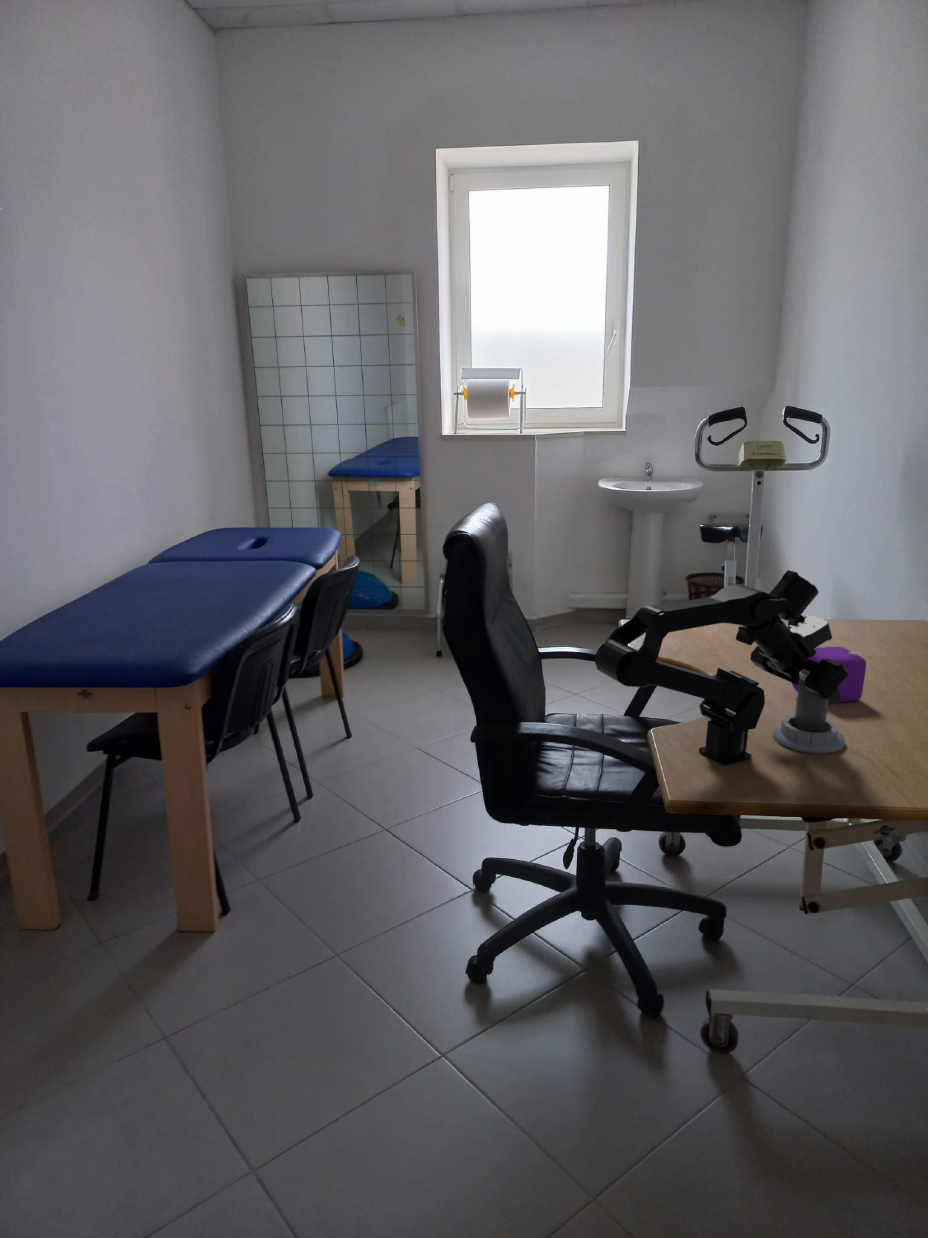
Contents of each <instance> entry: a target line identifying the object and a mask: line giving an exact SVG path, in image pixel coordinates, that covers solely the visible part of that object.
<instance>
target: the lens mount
mask: <svg viewBox="0 0 928 1238" xmlns="http://www.w3.org/2000/svg"><path fill="white" fill-rule="evenodd" d="M794 720H795V714H791V715H788V716H784V718H783V719H782V720H781V723H779V724H777V725H775V726H774V727H773V731H772V738H773V739H774V741H775V742H776V743H778V744H780V745H781V746H783V747H784V748H787V749H791V750H793V751H796V752H800V753H805V754H812V755H828V754H829V755H830V754H835V753H838V752H840V751H842V750H843V749H844V748H845V743H846V739H845V737H844V736H843V734H842V733H841V732H839V726H838V725H837V724H836V723H835V722H834V721H831V720H829V719H827V718H826V725H825V732H823V733H816V732H807V731H802V730H799V729H797V728H794Z"/></svg>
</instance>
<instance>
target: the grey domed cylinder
mask: <svg viewBox="0 0 928 1238" xmlns="http://www.w3.org/2000/svg"><path fill="white" fill-rule="evenodd" d="M808 675H809V674H807V673H805V672H803V671H800V673H799V677H800V678H799V687H798V691H797V696H796V703H795V712H794V713H795V714H794V715H795V720H794V728H797V729H799V730H802V731H807V732H816V733H823V732H825V725H826V719H827V716H828V708H829V703H828V702H829V701H828V700H825V699H823V698H820V697H818V696H816V695H814V694H811V693H810V691H809V690H808V689H807V688H806V687H805V686H804V683H805V678H806V677H807V676H808Z"/></svg>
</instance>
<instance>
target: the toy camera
mask: <svg viewBox="0 0 928 1238" xmlns="http://www.w3.org/2000/svg"><path fill="white" fill-rule="evenodd" d="M814 649H815V651H816V652H817V653H816V654H815V655H814V656H813V657H810V658H809V659H810V660H813V661H815V662H817V663H819V662H820V661H821V660H822V659H827V658H829V659H831V660H833V661H836V662H838V663H840V664H843V665H844V667H845V668H846V669H847V670H848V676H847V677H846V678H845V679H844V680H843V681H842V682H841V684H840V685H839V686H838V687H839V692H840V696H841V701H840V702H839V703H845V702H846V703H847V702H855V701H856V702H857V701H859V700H861V698H862V696H863V692H864V691H863V690H864V684H865V676H866V670H867V669H866V668H867V661H866V659H865V658H864V657H862V656H861V655H859V653H858V652H856V651H851V650H850V649H847V648H845V647H843V646H821V647H819V646H818V647H816V648H814ZM799 673H800V672H799ZM790 683H791V685H792V687H793V689H794V690H795V691H796V692H798V687H799V685H796V684H794V683H792V682H790ZM829 703H832V702H830V701H829V702H828V704H829Z"/></svg>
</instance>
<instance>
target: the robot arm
mask: <svg viewBox="0 0 928 1238" xmlns="http://www.w3.org/2000/svg"><path fill="white" fill-rule="evenodd" d="M717 591H718V592H716V593H715V594H714V595H710V596H707V597H701V598H695V599H688V600H683V601H678V602H671V603H664V604H659V605H645V606H644V605H643V606H642V607H640V609H638V611H637V612H636V613H635V614H634V615H633V616H632V618H631V619H629V620H627V621H626V622H624V623H623V624H622V625H620V626H619V627H617V628H616V629H615V630H614V631H613V632H611V634H610V635H609V637H608V638H607V639H606V640H605V642H604V643H602V644H601V645H600V646H599V647H598V649H597V651H596V653H595V657H594V658H595V659H594V662H595V666H596V670H597V671H599V673H602V674H603V675H605V676H607V677H609V678H611V679H612V680H614V681H616V682H617V683H618V684H619V683H620V684H621V685H623V686H625V687H629V688H631V687H632V688H633V687H634V688H646V687H649V686H656V687H661V688H664V689H667V690H671V691H675V692H679V693H682V694H684V695H685V694H686V695H689V696H693V697H697V698H699V699H703V700H702V702H701V703H700V704H699V710H700V715H702V716H704V717H705V718H708V719H710V720H708V721H707V726H706V727H707V728H706V736H705V737H706V739H705V745H704V746H702V747H698V752H700V753H701V754H704V755H705V756H707V757H709V758H711V759H713V761H716V762H718V763H720V764H721V765H730V764H733V763H737V762H741V761H745V760H748V759H751V758H752V757H753V755H752V754H751V753H749V752H747V747H748V737H749V730H754V729H756V727H757V725H758V723H759V720H760V717H761V716H762V715H761V714H762V712H763V710H764V707H765V704H766V701H765V698H766V695H765V690H764V689H763V688H762V687H760V686H759V685H760V682H758V681H757V680H754V679H752V678H749V677H747V676H745V675H743V674H741V673H738V672H736V671H734V670H730V671H729V670H726V669H724V668H721V667H717V670H716V674H713V675H709V674H705V673H701V672H698V671H695V670H692V669H688V668H685V667H681V666H678V665H674V664H672V663H667V662H664V661H661V660H658V658H659V655H660V651H661V648H662V645H663V642H664V639H665V638H666V637H667V635H668V634H669V633H673V632H679V631H685V630H690V629H697V628H702V627H703V628H704V627H707V626H713V625H718V624H730V625H737V626H738V627H737V628H738V629H737V633H736V635H735V640H736V641H737V642H740V643H742V644H745V645H748V646H752V645H753V644H754V643H755V645H756V646H755V648H754V649H753V650H751V652H750V659H749V660H750V661H751V662H752V664H753V665H754V666H755V667H758V669H759V668H760V669H761V670H763V671H765V672H766V673H769V674H770V675H772V676H773V675H774V676H775V677H778V678H780V679H783V680H785V681H787V682H790V683H791V682H792V683H794V684H796V685H799V678H800V677H799V672H800V671H803V672H805V673H807V674H809V675H808V676H807V677H806V678H805V683H804V686H805V687H806V688H807V689H808V690H809V691H810V693H811V694H814V695H816V696H818V697H820V698H823V699H825V700H828V701H830V702H831V703H832V704H833V703H834V704H836V705H839V703H841V702H840V701H841V696H840V692H839V687H838V686H839V685H840V684H841V682H842V681H843V680H844V679H845V678H846V677H847V676H848V670H847V669H846V668H845V667H844V665H843V664H840V663H838V662H836V661H833V660H831V659H829V658H827V659H822V660H821V661H820V662H819V663H817V662H815V661H813V660H810V659H809V658H810V657H813V656H814V655H815V654H816V653H817V652H816V651H815V649H814V648H818V647H819V646H821V645H822V644H824V643H826V642H829V641H831V640H832V639H833V635H832V631H831V628H830V623H829V621H828V620H826V619H823V618H820V617H818V616H815V615H808V614H806V615H805V616H804V615H803V613H804V612H805V610H806V609H807V608H808V606H809V605H811V603H812V602H813V601H814V600H815V598H816V597H817V596H818V595H819V590H818V587H817V586H816V585H815V584H812V583H811V582H810V581H808V580H807V579H805V578H804V577H802V576H801V575H799V573H798V572H797V571H795V570H790V569H788V570H786V571H785V573H784V574H783V575H782V577H781V578H780V580H779V581H778V582H777V584H776V585H775V586H774V587H773V589H772V590H771V591H770V592H769V593H768V592H766V591H762V590H760V589H756V588H755V587H754V588H753V587H749V586H747V585H744V584H742V583H741V584H740V583H735V584H732V585H729V586H727V587H724V588H721V589H719V590H717ZM783 620H784V621H787V624H785V622H784V621H783ZM644 634H645V635H644ZM643 635H644V639H643V642H642V644H641V646H640V647H639V648H638V650H637V649H636V648H633V647H631V646H629V644H631V643H632V642H634V641H635V640H637V639H638V638H640V637H642V636H643ZM792 683H791V684H792Z"/></svg>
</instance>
